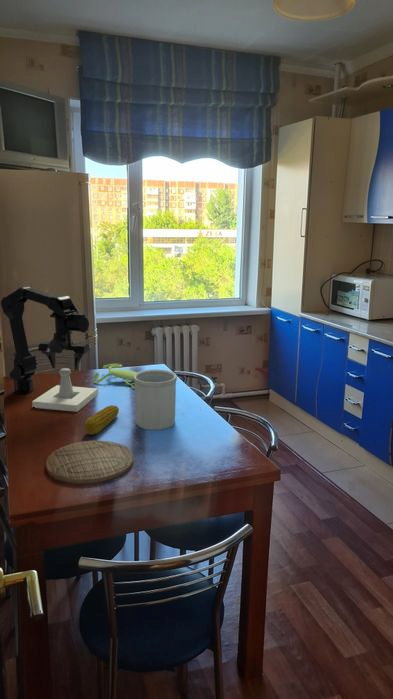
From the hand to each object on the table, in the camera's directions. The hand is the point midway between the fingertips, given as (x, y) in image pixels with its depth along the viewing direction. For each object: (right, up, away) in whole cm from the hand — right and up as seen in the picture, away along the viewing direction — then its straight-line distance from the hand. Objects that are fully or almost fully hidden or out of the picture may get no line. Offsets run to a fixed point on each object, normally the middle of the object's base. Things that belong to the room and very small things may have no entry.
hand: (65, 369), depth 197 cm
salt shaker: (0, -13, +3) cm, 13 cm away
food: (+18, -19, -20) cm, 33 cm away
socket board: (0, -13, +3) cm, 13 cm away
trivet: (+20, -26, -47) cm, 58 cm away
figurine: (+18, -7, +29) cm, 35 cm away
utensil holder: (+36, -19, -17) cm, 44 cm away
